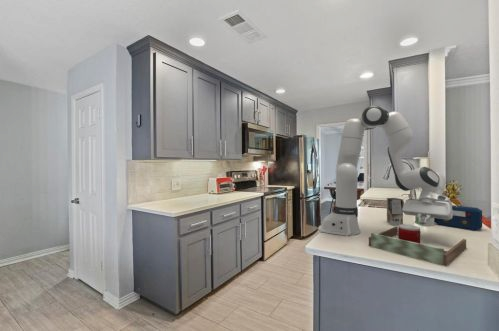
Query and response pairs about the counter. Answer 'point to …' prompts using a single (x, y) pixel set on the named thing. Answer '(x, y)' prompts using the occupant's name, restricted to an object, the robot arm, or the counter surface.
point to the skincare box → (429, 223)
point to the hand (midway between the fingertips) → (422, 223)
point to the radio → (463, 218)
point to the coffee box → (394, 211)
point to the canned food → (409, 233)
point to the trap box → (415, 248)
